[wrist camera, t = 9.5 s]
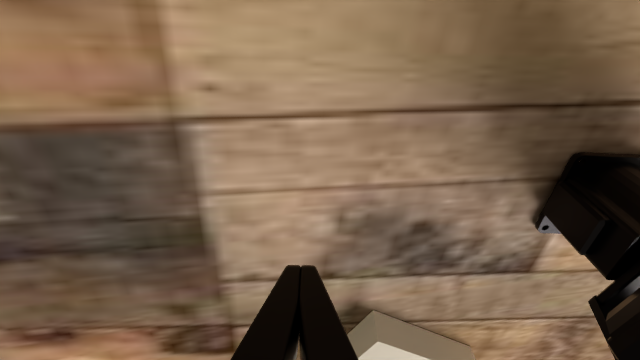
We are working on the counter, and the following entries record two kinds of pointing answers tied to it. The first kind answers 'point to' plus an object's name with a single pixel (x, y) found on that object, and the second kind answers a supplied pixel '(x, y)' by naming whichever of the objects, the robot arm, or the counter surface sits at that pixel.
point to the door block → (402, 341)
